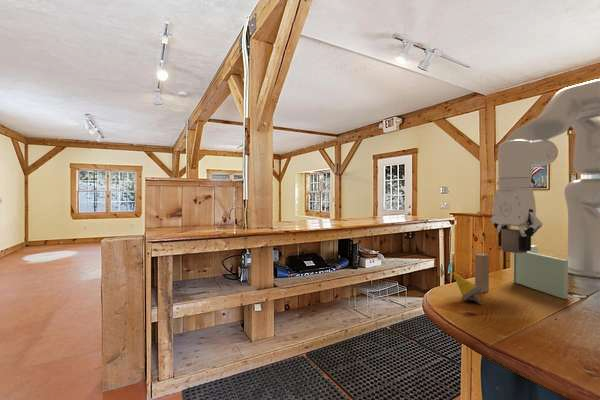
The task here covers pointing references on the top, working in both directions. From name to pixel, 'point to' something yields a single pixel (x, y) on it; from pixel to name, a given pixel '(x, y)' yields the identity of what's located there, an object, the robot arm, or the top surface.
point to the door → (542, 273)
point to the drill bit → (467, 288)
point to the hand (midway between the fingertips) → (514, 247)
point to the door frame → (487, 269)
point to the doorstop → (510, 240)
